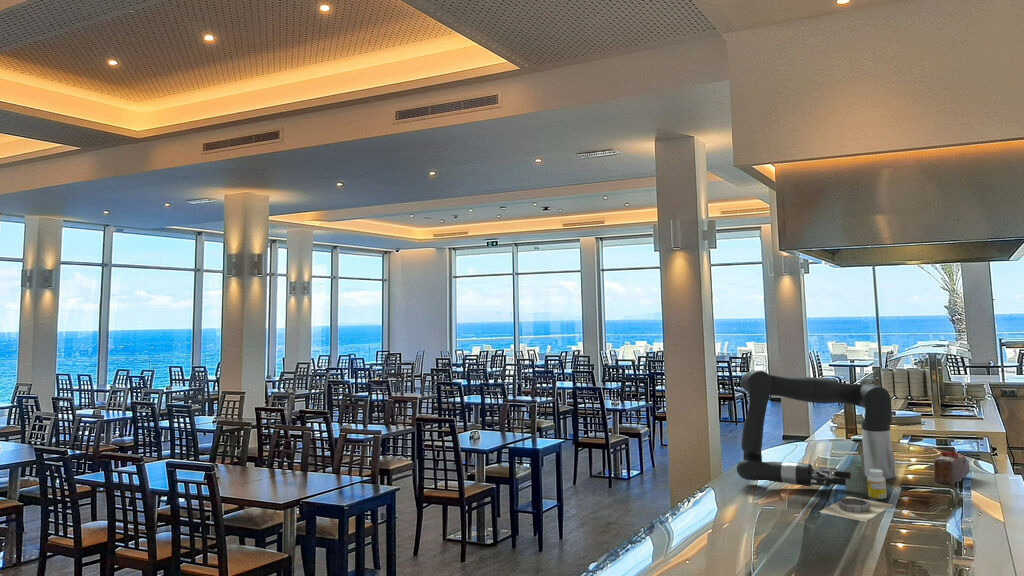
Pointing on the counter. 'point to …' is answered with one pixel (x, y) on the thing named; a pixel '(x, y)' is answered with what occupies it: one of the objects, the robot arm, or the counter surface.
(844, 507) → the bottle collar
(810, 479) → the robot arm
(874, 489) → the supplement bottle
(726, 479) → the counter surface
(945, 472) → the food item
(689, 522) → the counter surface
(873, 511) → the serving board
